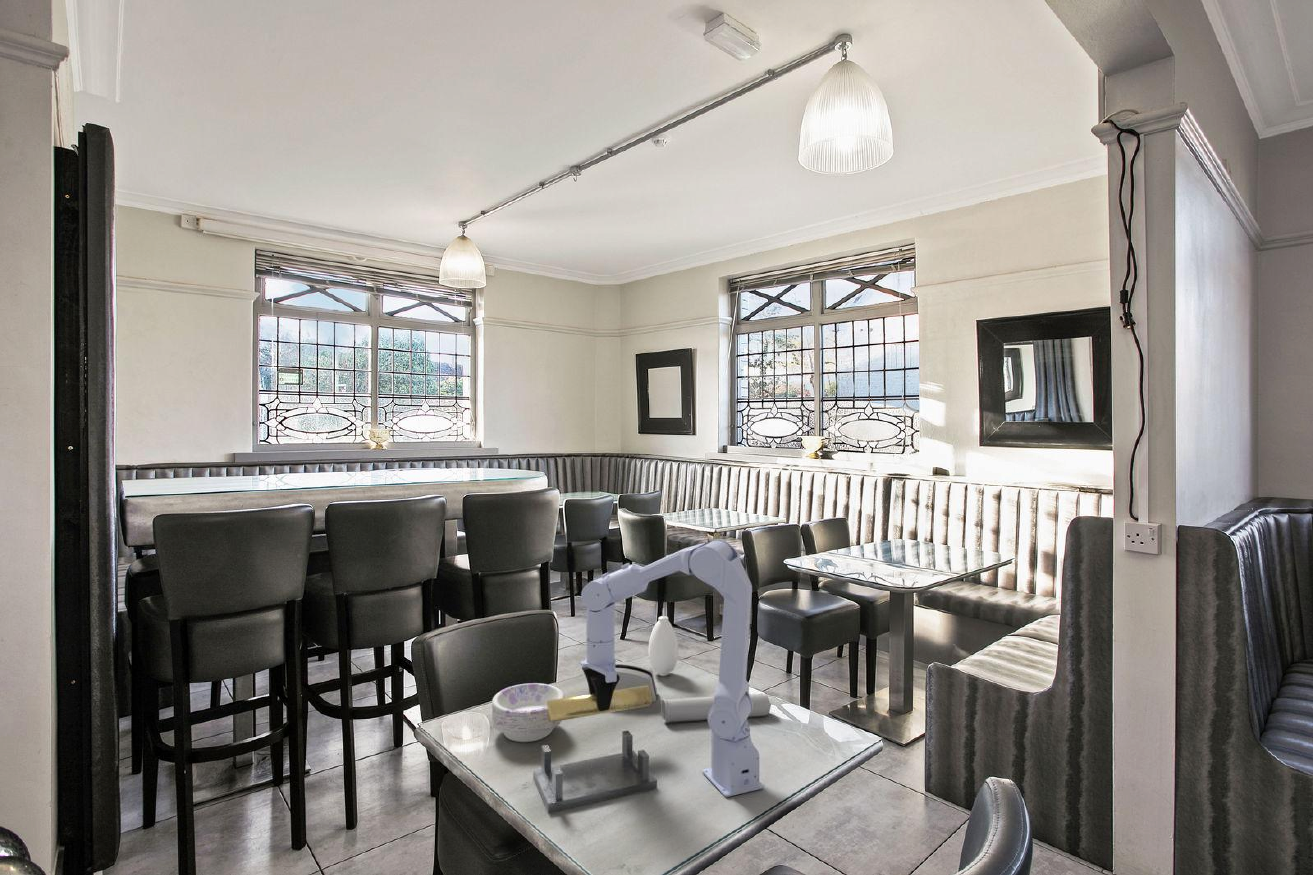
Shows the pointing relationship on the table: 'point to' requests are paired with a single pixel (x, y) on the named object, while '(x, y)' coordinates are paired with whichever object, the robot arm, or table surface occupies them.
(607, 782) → the corner post stand
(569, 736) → the table surface
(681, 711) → the tube
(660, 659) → the white air blower bulb
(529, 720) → the paper bowls
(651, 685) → the white rounded block
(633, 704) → the brass pin
